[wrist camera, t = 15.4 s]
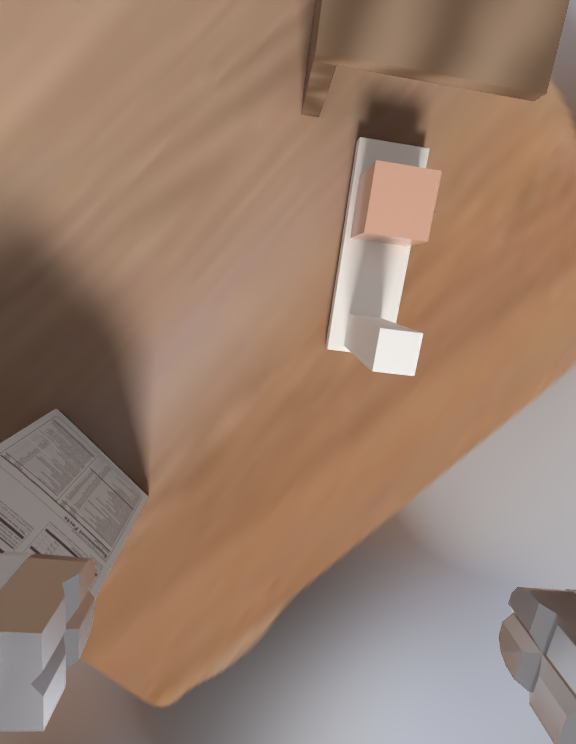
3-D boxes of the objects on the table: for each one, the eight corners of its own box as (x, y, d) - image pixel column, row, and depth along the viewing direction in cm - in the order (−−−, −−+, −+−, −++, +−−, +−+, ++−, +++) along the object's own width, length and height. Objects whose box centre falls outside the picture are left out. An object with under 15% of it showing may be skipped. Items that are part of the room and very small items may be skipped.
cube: (350, 238, 34) (364, 232, 30) (359, 176, 33) (376, 160, 28) (405, 246, 35) (427, 241, 30) (416, 185, 34) (442, 170, 29)
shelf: (301, 114, 33) (315, 50, 24) (313, 17, 32) (333, -93, 22) (469, 142, 35) (546, 93, 25) (489, 51, 33) (579, -39, 24)
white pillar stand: (325, 347, 38) (349, 375, 27) (356, 141, 34) (400, 78, 23) (385, 354, 38) (433, 385, 28) (423, 152, 34) (497, 95, 23)
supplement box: (56, 403, 38) (-112, 507, 21) (152, 495, 41) (72, 651, 24) (-39, 484, 39) (-267, 642, 22) (60, 568, 42) (-76, 763, 25)
